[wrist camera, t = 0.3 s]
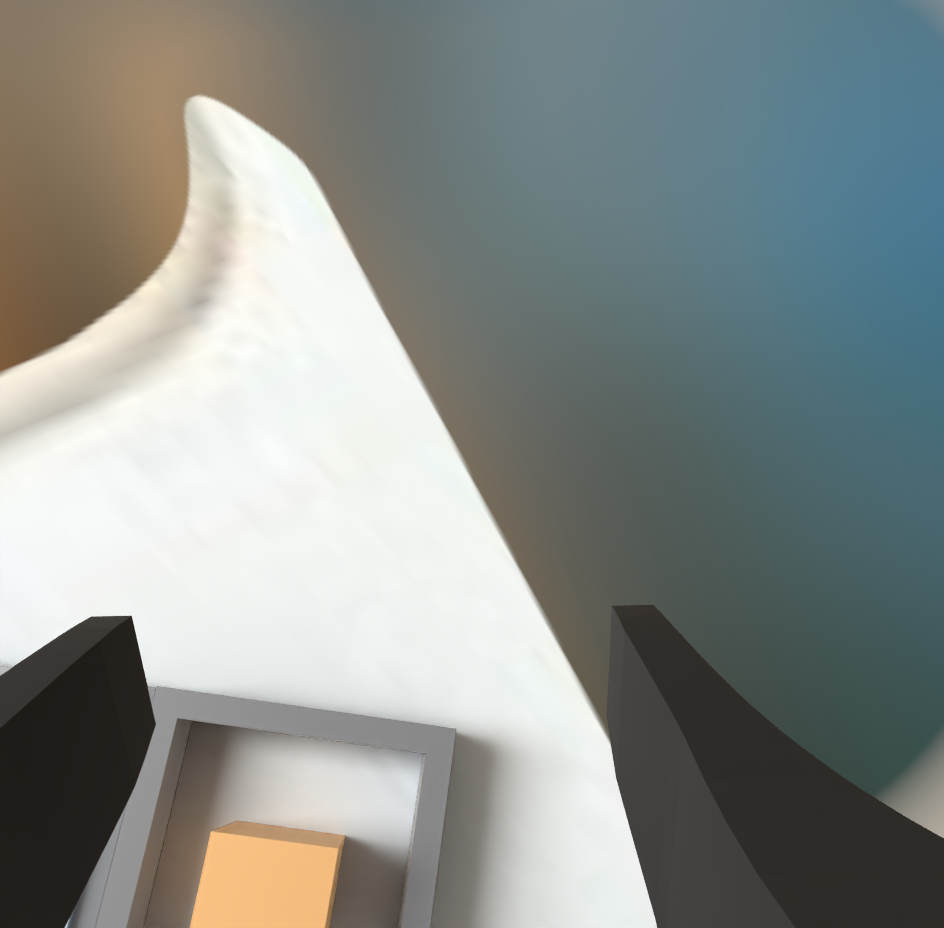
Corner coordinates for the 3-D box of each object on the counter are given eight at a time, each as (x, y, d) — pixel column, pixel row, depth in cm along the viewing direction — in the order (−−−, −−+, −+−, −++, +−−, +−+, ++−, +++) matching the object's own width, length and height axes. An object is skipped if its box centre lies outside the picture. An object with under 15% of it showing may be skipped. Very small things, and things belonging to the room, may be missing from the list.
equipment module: (328, 933, 37) (318, 964, 31) (216, 918, 37) (185, 947, 31) (345, 835, 38) (338, 848, 33) (236, 820, 38) (211, 831, 32)
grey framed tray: (403, 1083, 35) (405, 1112, 32) (-274, 1001, 34) (-333, 1023, 31) (451, 730, 40) (456, 728, 37) (-139, 646, 39) (-180, 638, 36)
